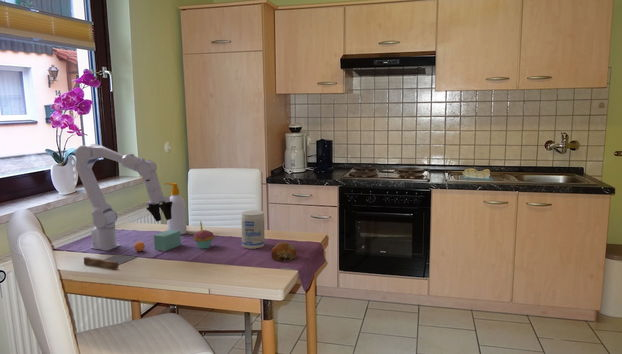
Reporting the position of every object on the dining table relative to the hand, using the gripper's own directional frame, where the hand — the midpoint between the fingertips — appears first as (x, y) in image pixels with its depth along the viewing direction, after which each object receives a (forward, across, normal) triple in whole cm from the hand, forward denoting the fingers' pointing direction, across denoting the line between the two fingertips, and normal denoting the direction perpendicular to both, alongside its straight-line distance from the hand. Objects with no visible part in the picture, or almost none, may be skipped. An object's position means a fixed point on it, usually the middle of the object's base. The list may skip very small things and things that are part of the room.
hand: (164, 220), depth 197 cm
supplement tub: (+22, -24, -22) cm, 39 cm away
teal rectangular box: (+12, +3, 0) cm, 12 cm away
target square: (+8, +5, +22) cm, 24 cm away
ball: (+7, +7, +10) cm, 14 cm away
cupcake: (+16, -8, -9) cm, 20 cm away
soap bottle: (+11, +20, -16) cm, 28 cm away
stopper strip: (+8, +3, +30) cm, 31 cm away
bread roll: (+26, -44, -17) cm, 54 cm away
